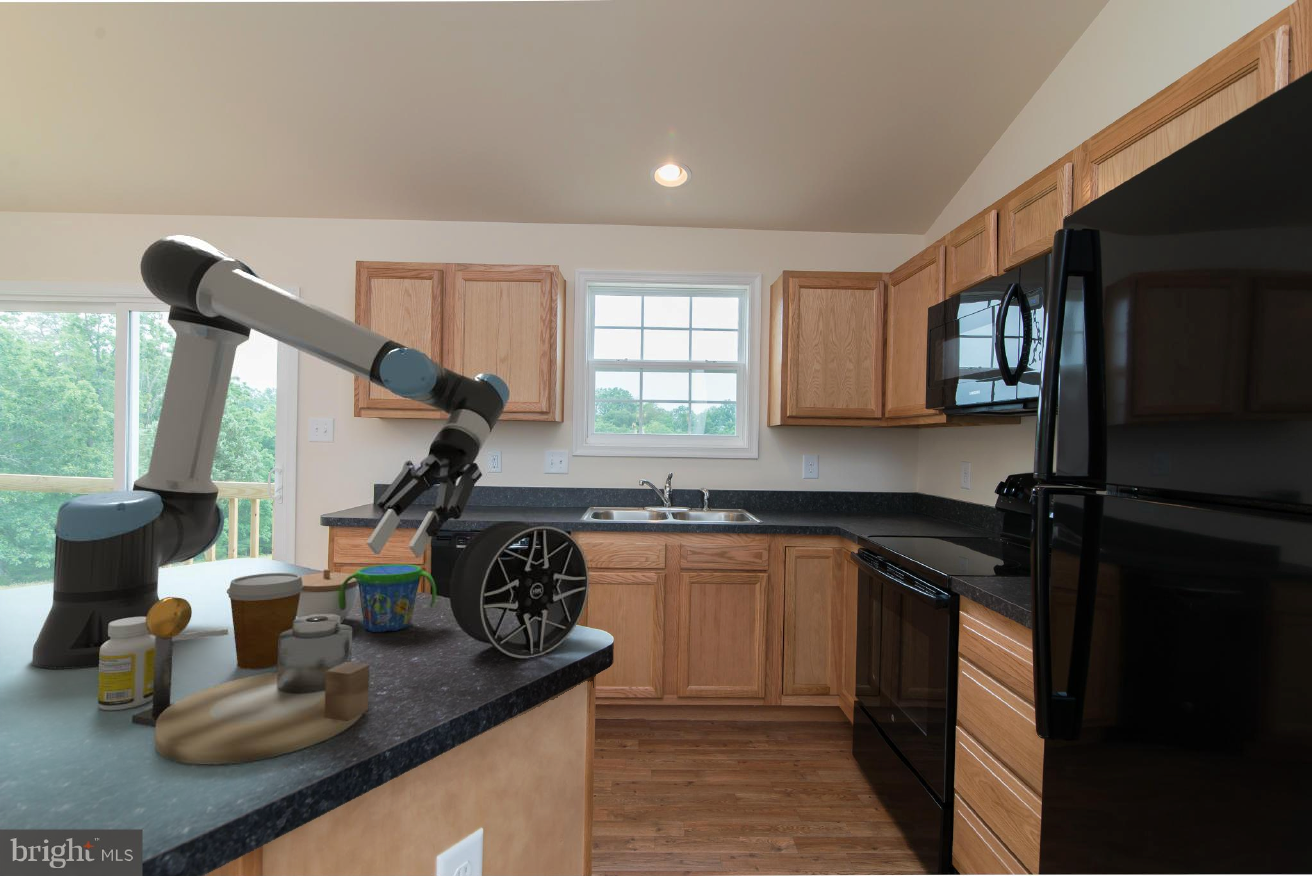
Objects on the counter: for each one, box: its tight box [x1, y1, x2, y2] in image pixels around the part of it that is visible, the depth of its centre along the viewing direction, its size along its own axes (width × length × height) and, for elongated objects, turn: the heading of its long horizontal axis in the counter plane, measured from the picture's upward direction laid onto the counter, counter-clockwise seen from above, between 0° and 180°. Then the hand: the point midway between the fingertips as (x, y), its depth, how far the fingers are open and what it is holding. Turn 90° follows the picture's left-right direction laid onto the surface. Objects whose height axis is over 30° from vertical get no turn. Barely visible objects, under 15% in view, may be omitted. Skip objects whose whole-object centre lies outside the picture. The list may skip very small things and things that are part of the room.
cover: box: [276, 614, 353, 694], centre depth 76 cm, size 8×8×8 cm
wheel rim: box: [449, 520, 590, 659], centre depth 97 cm, size 20×9×20 cm, turn 136°
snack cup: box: [339, 563, 437, 633], centre depth 107 cm, size 16×10×10 cm
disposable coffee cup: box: [226, 572, 304, 670], centre depth 88 cm, size 10×10×12 cm
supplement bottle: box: [97, 617, 155, 712], centre depth 74 cm, size 5×5×10 cm
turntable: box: [154, 661, 370, 765], centre depth 69 cm, size 22×20×7 cm
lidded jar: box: [296, 568, 359, 624], centre depth 108 cm, size 11×11×9 cm
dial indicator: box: [131, 596, 229, 728], centre depth 71 cm, size 6×7×14 cm
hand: (393, 550), depth 90 cm, fingers open, 6 cm apart
